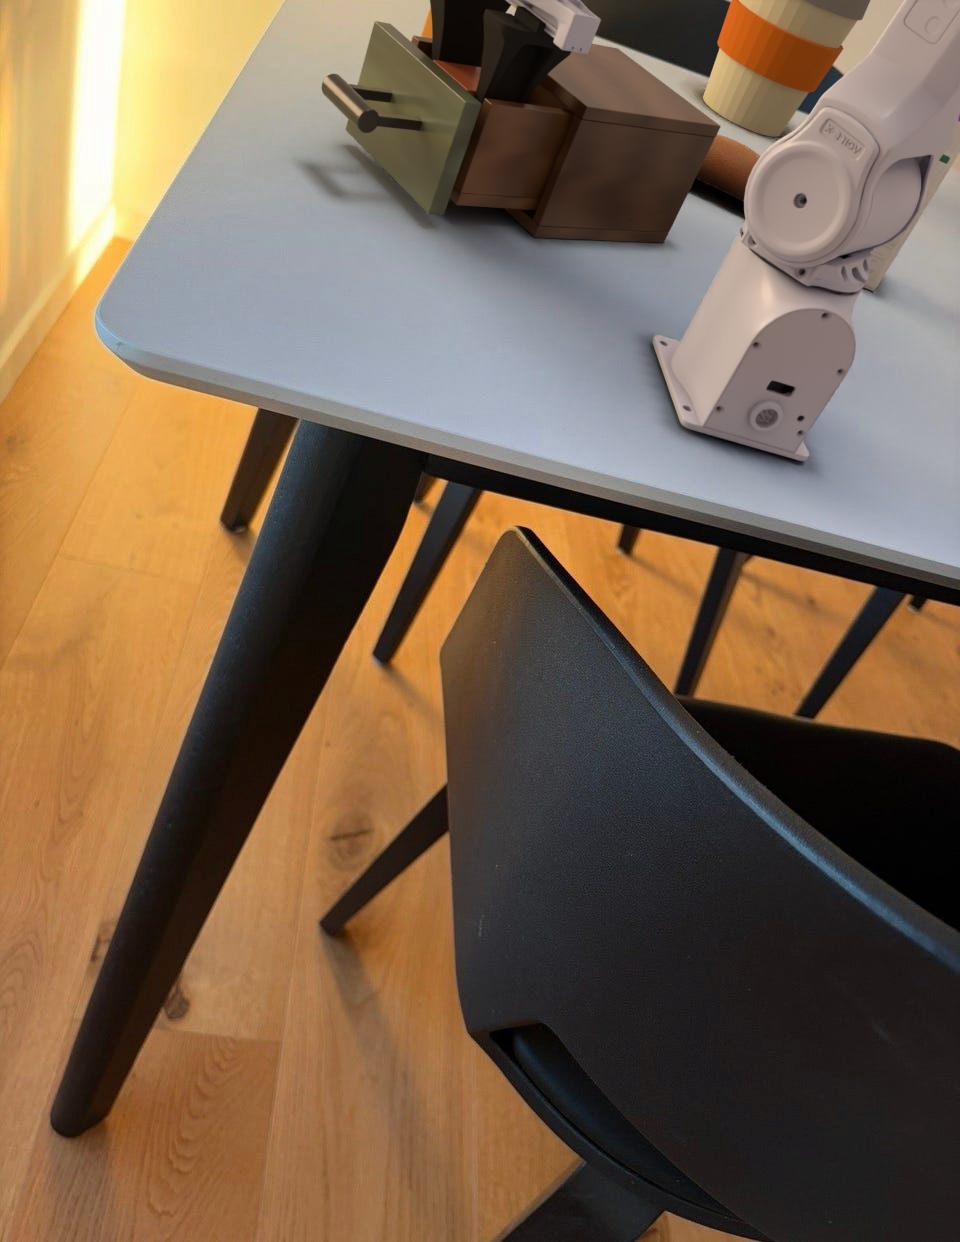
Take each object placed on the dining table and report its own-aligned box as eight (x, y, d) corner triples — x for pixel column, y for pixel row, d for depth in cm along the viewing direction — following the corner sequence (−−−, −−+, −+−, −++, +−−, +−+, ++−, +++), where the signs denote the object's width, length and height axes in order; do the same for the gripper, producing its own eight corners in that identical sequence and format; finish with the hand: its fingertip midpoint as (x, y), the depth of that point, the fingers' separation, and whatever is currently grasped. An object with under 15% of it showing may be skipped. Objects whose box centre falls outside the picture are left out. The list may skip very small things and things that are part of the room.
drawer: (365, 210, 64) (400, 92, 59) (283, 123, 69) (310, 8, 64) (566, 221, 73) (609, 121, 69) (482, 144, 78) (517, 46, 74)
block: (496, 159, 70) (518, 97, 68) (446, 154, 68) (467, 89, 66) (462, 129, 72) (483, 67, 70) (413, 123, 70) (432, 59, 67)
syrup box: (875, 293, 88) (990, 114, 79) (808, 263, 88) (916, 79, 79) (869, 267, 93) (977, 94, 83) (805, 239, 92) (907, 61, 83)
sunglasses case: (769, 190, 96) (802, 136, 90) (744, 250, 94) (777, 199, 88) (582, 101, 96) (602, 41, 90) (552, 160, 94) (571, 101, 87)
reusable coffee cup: (735, 136, 108) (817, -29, 98) (664, 77, 114) (735, -82, 105) (819, 152, 115) (903, 0, 105) (747, 96, 122) (820, -51, 112)
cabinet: (534, 237, 72) (587, 106, 67) (441, 149, 77) (483, 21, 72) (664, 243, 80) (721, 126, 74) (571, 162, 85) (617, 48, 80)
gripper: (417, -190, 62) (352, 58, 70) (567, -88, 55) (475, 173, 63) (512, -158, 66) (440, 72, 75) (662, -61, 59) (564, 181, 68)
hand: (462, 119), depth 69 cm, fingers closed on block, 4 cm apart
